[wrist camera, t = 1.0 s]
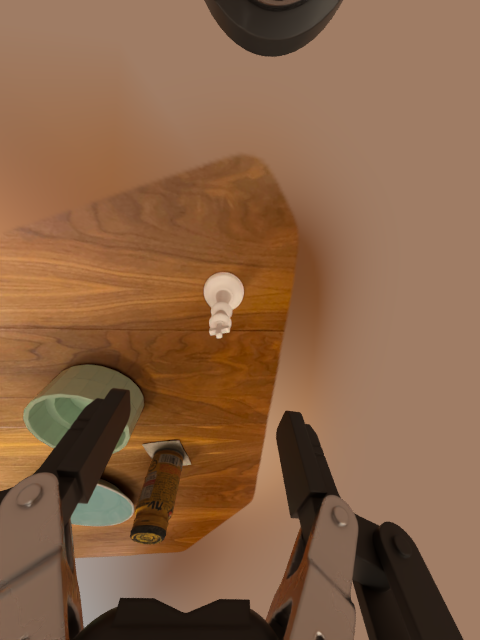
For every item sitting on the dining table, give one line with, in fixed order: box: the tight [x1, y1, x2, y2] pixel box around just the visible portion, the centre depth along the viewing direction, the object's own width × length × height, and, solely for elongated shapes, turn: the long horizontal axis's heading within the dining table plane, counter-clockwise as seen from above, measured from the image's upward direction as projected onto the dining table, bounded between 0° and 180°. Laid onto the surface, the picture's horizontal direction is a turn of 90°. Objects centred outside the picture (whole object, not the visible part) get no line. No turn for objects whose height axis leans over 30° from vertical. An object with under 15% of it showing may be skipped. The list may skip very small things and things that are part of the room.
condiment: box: [130, 441, 191, 544], centre depth 37 cm, size 7×8×12 cm
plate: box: [71, 479, 134, 526], centre depth 47 cm, size 22×22×3 cm
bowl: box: [23, 364, 144, 454], centre depth 31 cm, size 13×13×6 cm
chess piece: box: [204, 272, 244, 338], centre depth 22 cm, size 5×5×10 cm
